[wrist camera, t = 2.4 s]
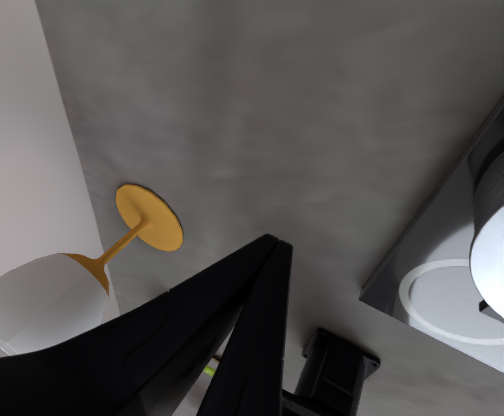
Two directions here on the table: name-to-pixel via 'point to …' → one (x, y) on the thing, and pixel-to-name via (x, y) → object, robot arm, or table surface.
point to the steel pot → (489, 240)
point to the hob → (444, 259)
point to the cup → (76, 280)
